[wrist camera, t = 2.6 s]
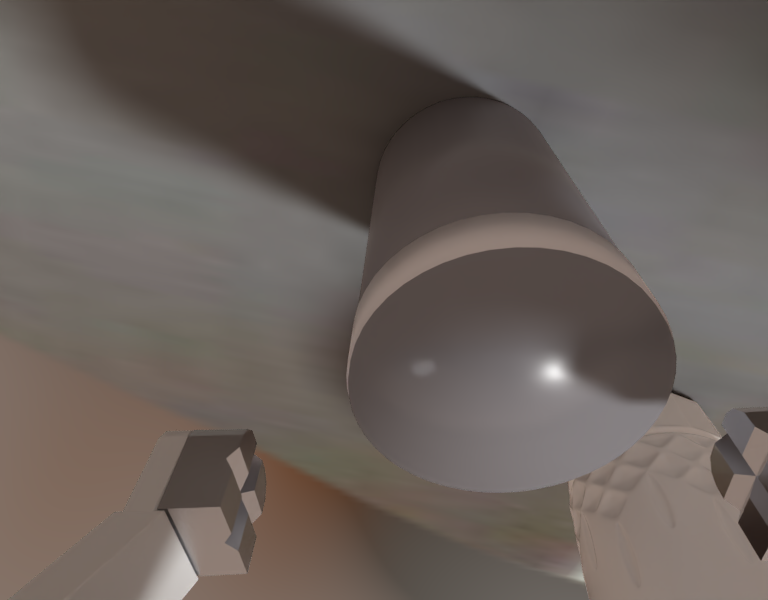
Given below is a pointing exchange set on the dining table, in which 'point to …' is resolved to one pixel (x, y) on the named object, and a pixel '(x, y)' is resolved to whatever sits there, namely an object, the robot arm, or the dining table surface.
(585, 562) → the white cup
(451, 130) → the lens
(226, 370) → the dining table surface
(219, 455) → the robot arm
